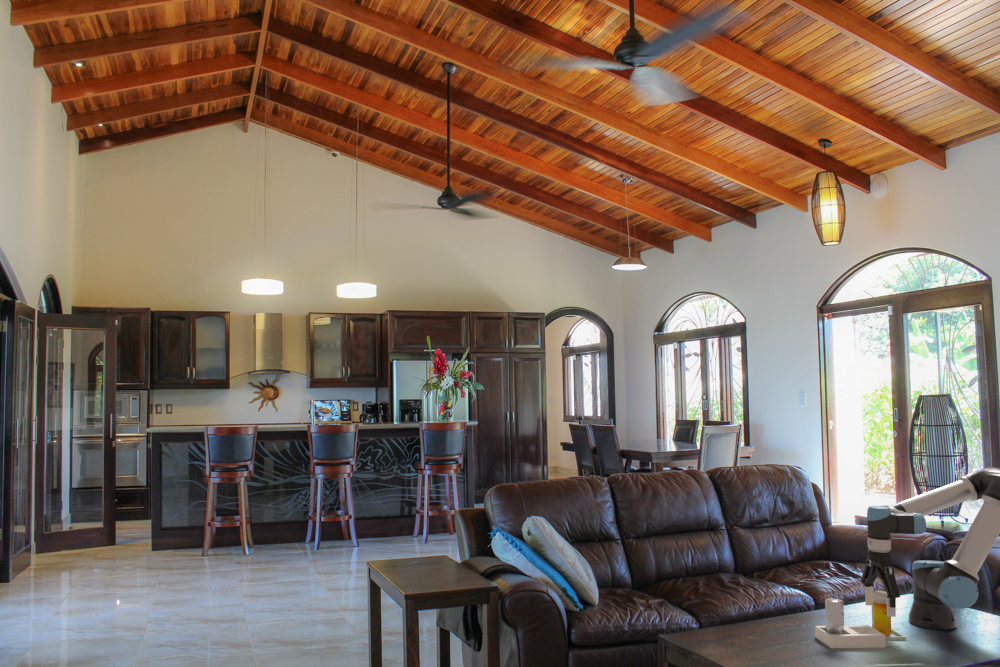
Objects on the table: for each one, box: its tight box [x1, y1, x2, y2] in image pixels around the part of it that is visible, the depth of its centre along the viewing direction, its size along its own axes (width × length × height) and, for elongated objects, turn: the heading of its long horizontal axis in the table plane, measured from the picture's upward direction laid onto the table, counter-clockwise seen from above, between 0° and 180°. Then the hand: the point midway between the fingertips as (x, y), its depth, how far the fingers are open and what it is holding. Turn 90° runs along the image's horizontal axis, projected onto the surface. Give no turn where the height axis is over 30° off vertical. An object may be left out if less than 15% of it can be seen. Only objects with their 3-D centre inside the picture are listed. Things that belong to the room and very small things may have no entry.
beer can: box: [871, 589, 892, 637], centre depth 269 cm, size 6×6×15 cm
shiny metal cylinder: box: [824, 597, 845, 635], centre depth 259 cm, size 6×6×14 cm
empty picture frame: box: [885, 628, 908, 641], centre depth 268 cm, size 11×11×1 cm
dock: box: [814, 624, 887, 649], centre depth 259 cm, size 19×11×4 cm, turn 94°
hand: (880, 610), depth 269 cm, fingers open, 13 cm apart
